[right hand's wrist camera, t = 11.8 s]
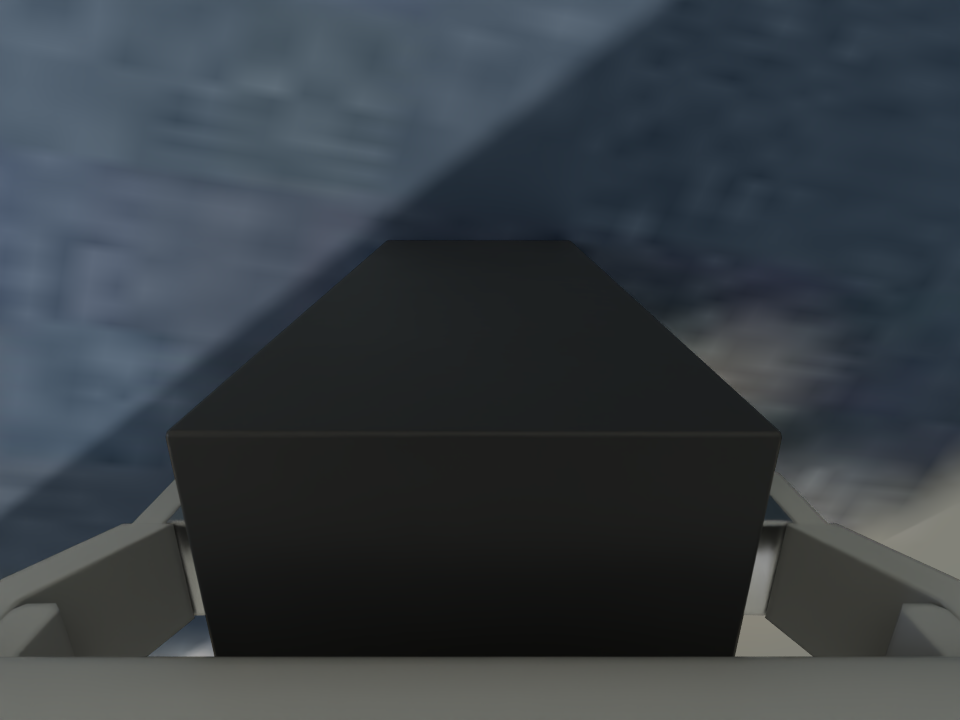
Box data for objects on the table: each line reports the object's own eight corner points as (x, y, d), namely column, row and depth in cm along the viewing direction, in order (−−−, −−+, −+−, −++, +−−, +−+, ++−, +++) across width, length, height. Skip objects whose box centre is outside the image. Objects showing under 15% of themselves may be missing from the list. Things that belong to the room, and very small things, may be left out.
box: (386, 239, 17) (160, 433, 5) (570, 240, 17) (786, 433, 5) (413, 713, 24) (347, 1260, 12) (543, 713, 24) (605, 1260, 12)
